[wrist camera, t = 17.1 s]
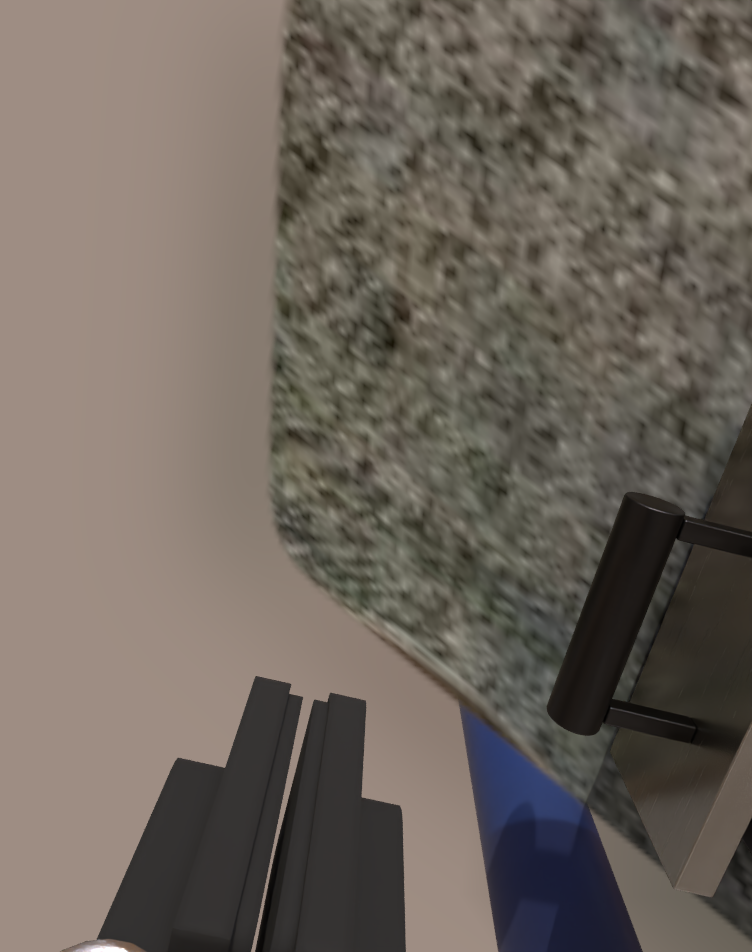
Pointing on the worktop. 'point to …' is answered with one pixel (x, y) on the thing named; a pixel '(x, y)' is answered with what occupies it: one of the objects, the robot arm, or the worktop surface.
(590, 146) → the worktop surface
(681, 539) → the drawer
